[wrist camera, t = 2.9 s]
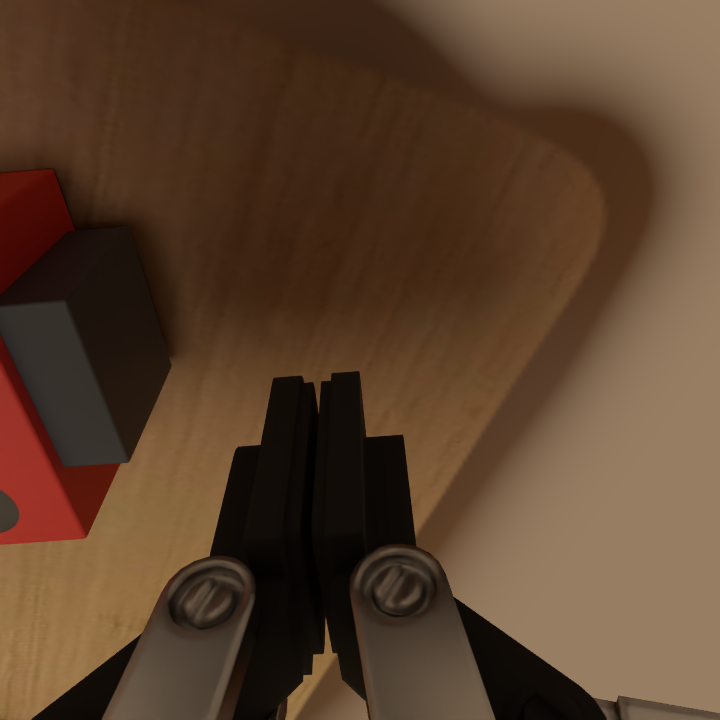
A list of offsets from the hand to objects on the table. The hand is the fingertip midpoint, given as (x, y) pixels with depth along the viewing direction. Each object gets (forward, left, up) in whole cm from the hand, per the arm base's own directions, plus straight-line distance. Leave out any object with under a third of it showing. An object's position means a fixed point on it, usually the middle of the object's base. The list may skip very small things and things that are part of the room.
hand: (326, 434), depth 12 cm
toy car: (0, -7, -6) cm, 9 cm away
